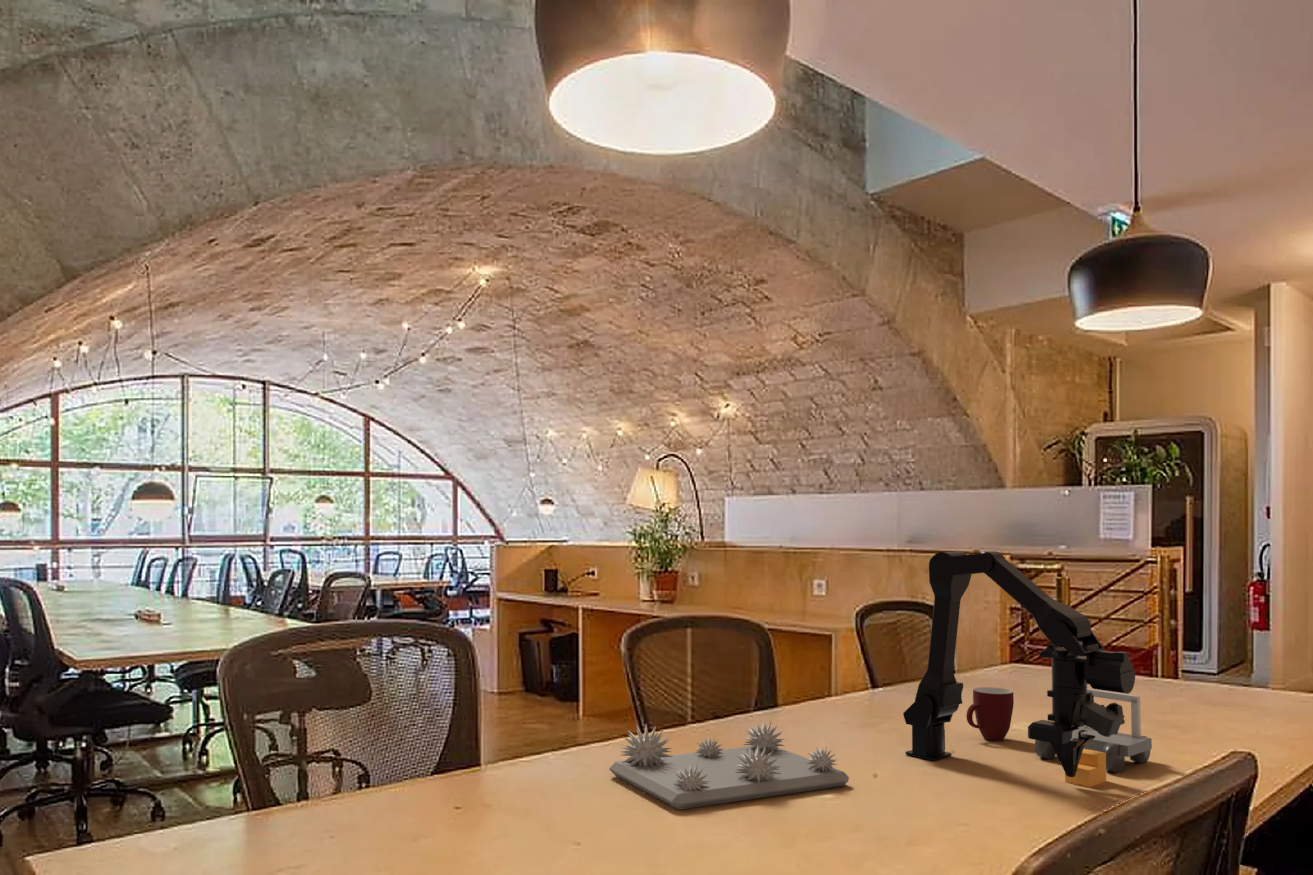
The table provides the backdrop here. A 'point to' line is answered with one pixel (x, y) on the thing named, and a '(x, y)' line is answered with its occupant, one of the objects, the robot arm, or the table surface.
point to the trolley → (1113, 738)
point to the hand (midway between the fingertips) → (1070, 776)
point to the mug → (991, 712)
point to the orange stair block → (1089, 769)
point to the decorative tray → (724, 770)
